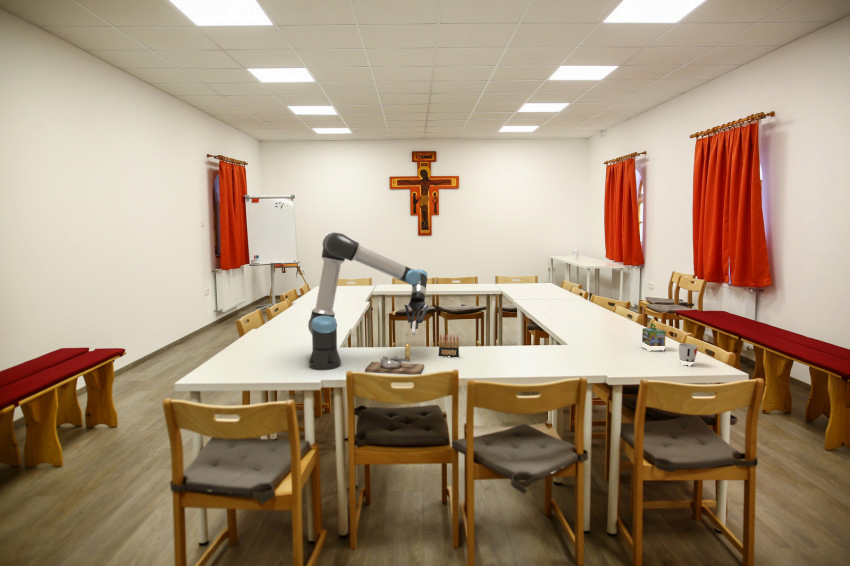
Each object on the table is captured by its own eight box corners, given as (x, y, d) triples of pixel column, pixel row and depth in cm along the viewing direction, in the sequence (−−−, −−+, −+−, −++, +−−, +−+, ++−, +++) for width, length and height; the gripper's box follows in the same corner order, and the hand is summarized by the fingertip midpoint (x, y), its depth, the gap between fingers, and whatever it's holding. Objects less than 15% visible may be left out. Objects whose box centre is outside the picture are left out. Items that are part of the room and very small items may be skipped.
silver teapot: (378, 368, 221) (378, 345, 220) (383, 362, 231) (383, 340, 230) (408, 370, 219) (408, 347, 218) (411, 363, 229) (412, 342, 228)
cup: (685, 367, 233) (686, 347, 232) (673, 362, 241) (675, 343, 240) (699, 366, 234) (701, 347, 233) (688, 362, 242) (689, 343, 241)
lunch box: (665, 351, 263) (667, 325, 261) (648, 351, 262) (650, 325, 261) (656, 347, 272) (658, 322, 270) (640, 347, 272) (642, 322, 270)
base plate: (365, 372, 221) (364, 368, 221) (371, 364, 233) (371, 361, 233) (420, 375, 217) (420, 371, 217) (424, 367, 229) (424, 364, 229)
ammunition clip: (438, 356, 248) (438, 334, 247) (438, 355, 250) (439, 333, 249) (458, 357, 247) (459, 335, 245) (459, 356, 249) (459, 334, 247)
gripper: (431, 300, 253) (426, 338, 238) (406, 299, 254) (401, 337, 240) (429, 291, 247) (425, 330, 232) (405, 291, 248) (399, 329, 234)
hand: (413, 333), depth 236 cm, fingers closed
